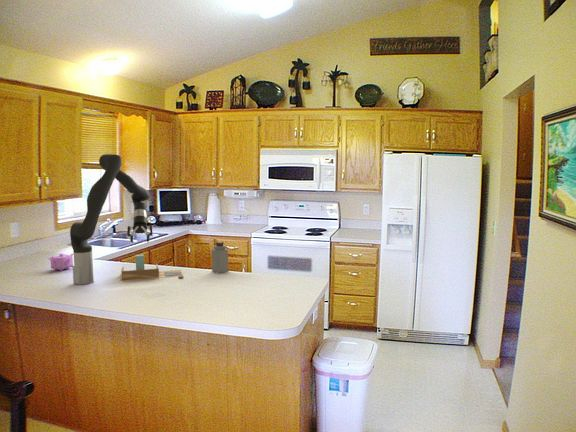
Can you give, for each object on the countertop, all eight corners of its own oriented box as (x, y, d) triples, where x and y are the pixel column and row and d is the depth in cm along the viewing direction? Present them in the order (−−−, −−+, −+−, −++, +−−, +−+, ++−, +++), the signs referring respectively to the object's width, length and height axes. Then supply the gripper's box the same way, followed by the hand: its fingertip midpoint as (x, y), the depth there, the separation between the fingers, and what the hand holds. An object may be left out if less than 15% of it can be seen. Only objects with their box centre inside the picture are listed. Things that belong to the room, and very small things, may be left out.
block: (136, 275, 254) (135, 254, 253) (144, 274, 256) (143, 254, 254) (136, 277, 250) (135, 256, 249) (144, 276, 252) (143, 255, 250)
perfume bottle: (220, 273, 264) (219, 243, 262) (212, 271, 268) (211, 242, 266) (228, 271, 270) (227, 241, 268) (220, 269, 274) (219, 240, 272)
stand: (120, 276, 257) (119, 265, 256) (180, 271, 268) (180, 261, 267) (119, 283, 242) (118, 272, 241) (183, 278, 253) (183, 267, 252)
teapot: (56, 273, 264) (55, 257, 263) (42, 271, 270) (41, 255, 269) (82, 267, 280) (82, 252, 279) (68, 265, 286) (68, 250, 285)
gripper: (127, 215, 265) (126, 239, 256) (152, 214, 268) (152, 238, 260) (128, 222, 271) (127, 245, 262) (152, 221, 274) (152, 244, 266)
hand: (139, 241), depth 261 cm, fingers open, 8 cm apart
